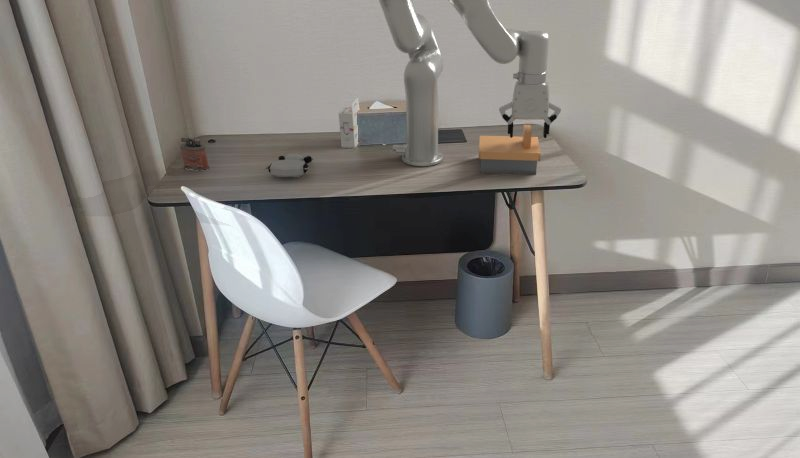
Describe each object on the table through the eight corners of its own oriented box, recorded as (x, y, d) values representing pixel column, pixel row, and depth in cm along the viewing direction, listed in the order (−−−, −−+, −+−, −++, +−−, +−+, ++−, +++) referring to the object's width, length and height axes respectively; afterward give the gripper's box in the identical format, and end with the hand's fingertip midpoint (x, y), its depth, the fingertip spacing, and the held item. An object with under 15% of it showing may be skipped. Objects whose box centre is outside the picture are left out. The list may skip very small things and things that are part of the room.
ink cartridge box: (347, 138, 205) (344, 96, 198) (361, 139, 205) (359, 96, 198) (340, 147, 198) (337, 103, 191) (355, 148, 197) (352, 104, 190)
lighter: (211, 167, 186) (205, 136, 181) (205, 172, 183) (199, 140, 178) (188, 165, 188) (182, 134, 183) (182, 169, 185) (175, 138, 180)
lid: (478, 159, 175) (479, 134, 171) (479, 142, 187) (480, 119, 183) (540, 160, 173) (542, 136, 169) (537, 144, 184) (539, 121, 181)
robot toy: (278, 165, 189) (264, 181, 175) (276, 151, 187) (263, 166, 173) (317, 165, 188) (306, 182, 174) (316, 151, 186) (305, 167, 172)
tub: (480, 172, 178) (481, 153, 175) (481, 157, 188) (481, 138, 185) (536, 174, 176) (537, 154, 173) (533, 158, 186) (535, 140, 183)
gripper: (500, 81, 166) (498, 140, 174) (565, 81, 164) (559, 141, 172) (500, 74, 173) (497, 131, 181) (562, 74, 171) (557, 132, 179)
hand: (527, 136), depth 177 cm, fingers open, 9 cm apart
